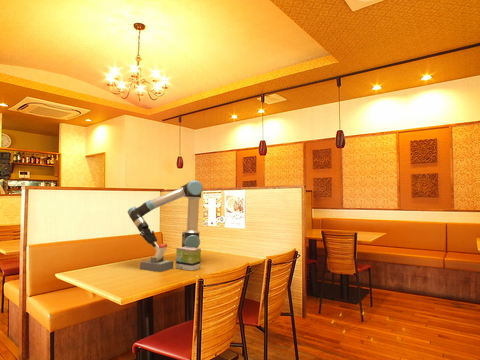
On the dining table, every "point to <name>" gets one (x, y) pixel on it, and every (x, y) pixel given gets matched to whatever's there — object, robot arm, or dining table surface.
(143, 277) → the dining table surface
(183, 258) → the tea box
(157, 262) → the breaker housing
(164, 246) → the breaker lever
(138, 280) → the dining table surface
